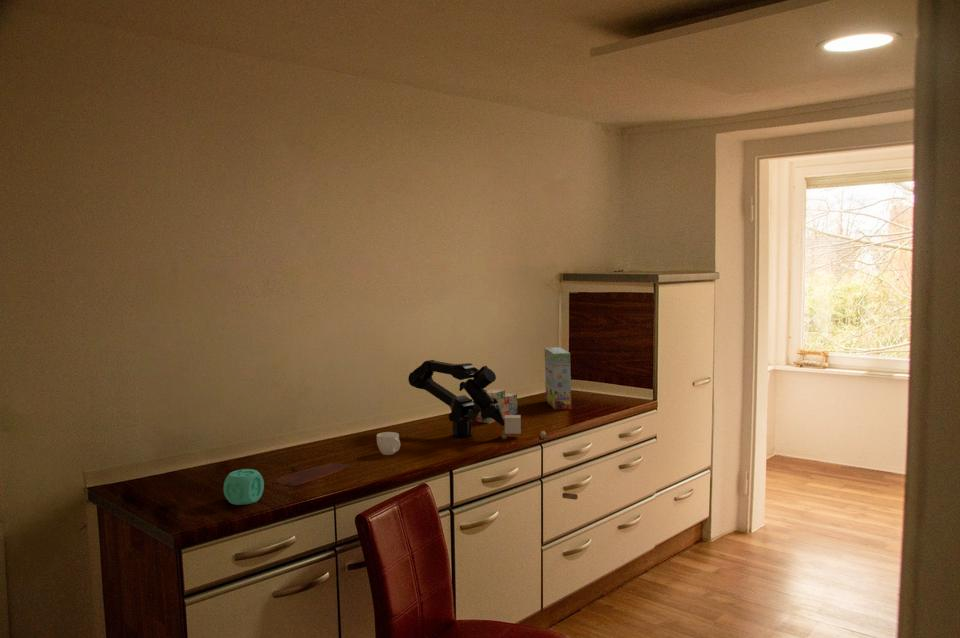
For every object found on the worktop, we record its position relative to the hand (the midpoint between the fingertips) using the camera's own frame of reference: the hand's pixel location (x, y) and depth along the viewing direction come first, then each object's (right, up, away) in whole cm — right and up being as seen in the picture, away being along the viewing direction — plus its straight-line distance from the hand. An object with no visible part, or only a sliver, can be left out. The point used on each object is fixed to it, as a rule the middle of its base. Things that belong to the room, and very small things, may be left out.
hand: (503, 425), depth 280 cm
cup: (-40, -7, -21) cm, 46 cm away
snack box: (+27, 0, +64) cm, 69 cm away
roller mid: (+14, -3, +1) cm, 15 cm away
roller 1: (-1, -4, +2) cm, 5 cm away
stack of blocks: (-1, -3, +37) cm, 37 cm away
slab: (+3, -3, +2) cm, 5 cm away
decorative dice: (-75, -11, -70) cm, 104 cm away
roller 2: (+25, -28, +2) cm, 38 cm away
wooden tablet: (-61, -10, -45) cm, 76 cm away
